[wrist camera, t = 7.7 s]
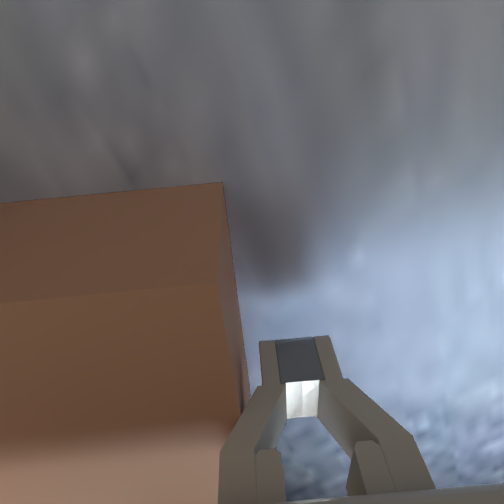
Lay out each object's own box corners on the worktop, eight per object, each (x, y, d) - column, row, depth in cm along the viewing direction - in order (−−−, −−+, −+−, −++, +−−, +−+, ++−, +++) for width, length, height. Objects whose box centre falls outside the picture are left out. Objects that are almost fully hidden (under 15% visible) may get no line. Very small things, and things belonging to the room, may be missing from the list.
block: (222, 178, 10) (217, 282, 6) (249, 381, 16) (256, 509, 11) (-75, 206, 10) (-295, 331, 6) (58, 400, 15) (-6, 535, 11)
